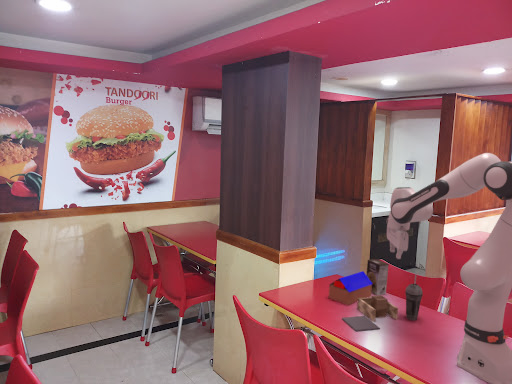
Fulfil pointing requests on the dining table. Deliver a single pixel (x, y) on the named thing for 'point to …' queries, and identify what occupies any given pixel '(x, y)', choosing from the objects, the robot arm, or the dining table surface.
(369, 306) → the wooden open frame
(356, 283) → the house
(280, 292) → the dining table surface
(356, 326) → the mat
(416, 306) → the beverage cup
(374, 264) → the coffee box
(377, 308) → the block
